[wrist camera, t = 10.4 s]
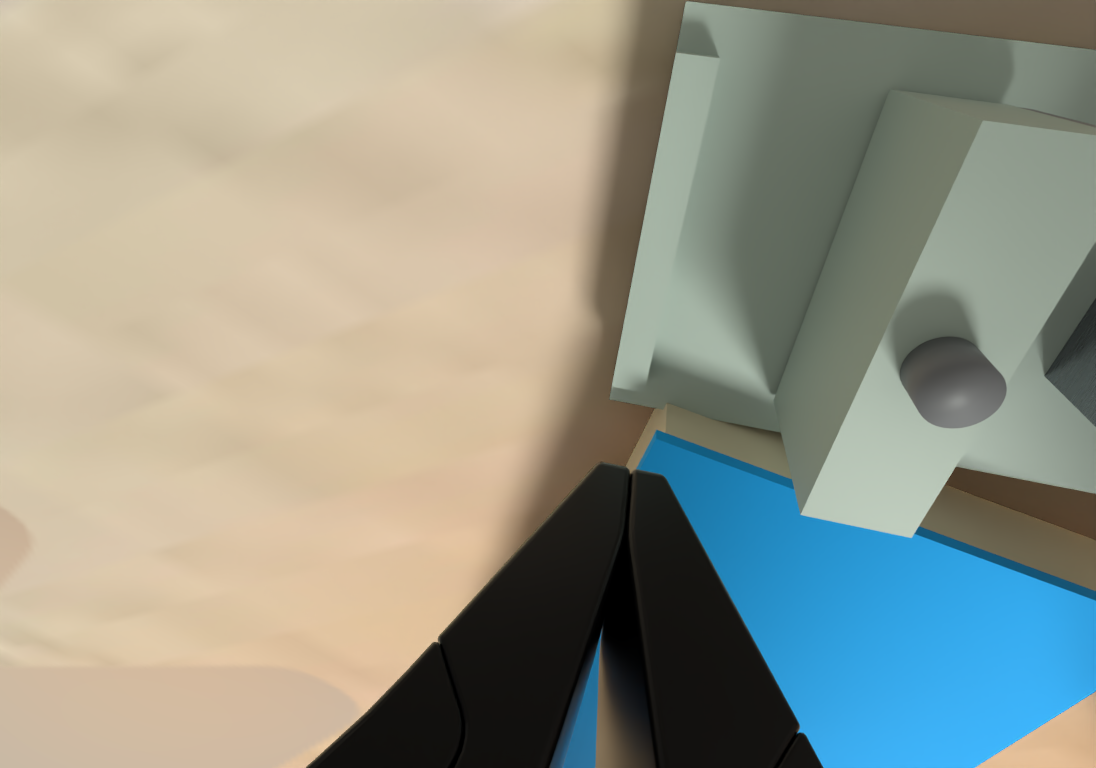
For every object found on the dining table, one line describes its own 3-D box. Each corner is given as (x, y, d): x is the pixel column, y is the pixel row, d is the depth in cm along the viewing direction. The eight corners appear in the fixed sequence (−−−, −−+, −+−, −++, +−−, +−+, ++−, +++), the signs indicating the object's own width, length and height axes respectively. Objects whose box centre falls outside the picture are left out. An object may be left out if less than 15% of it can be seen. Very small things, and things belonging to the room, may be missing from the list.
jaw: (1020, 106, 13) (1229, 159, 8) (868, 418, 18) (940, 574, 13) (889, 89, 13) (1012, 130, 8) (773, 400, 18) (807, 546, 13)
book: (470, 790, 31) (644, 443, 17) (492, 709, 34) (652, 366, 20) (780, 904, 31) (1219, 649, 17) (771, 811, 34) (1125, 535, 20)
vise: (1648, 117, 12) (2261, 178, 8) (1255, 503, 18) (1457, 674, 13) (685, 2, 14) (686, -7, 10) (612, 380, 20) (591, 490, 16)
